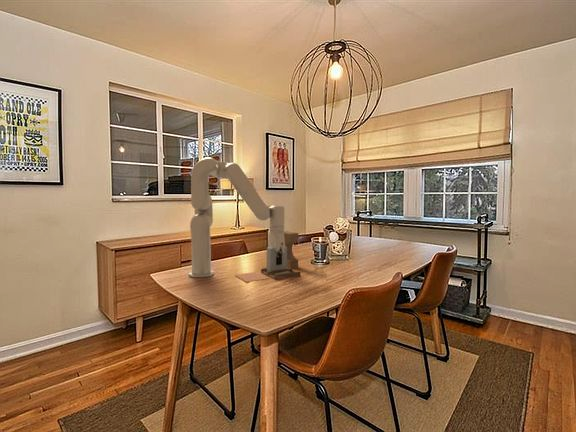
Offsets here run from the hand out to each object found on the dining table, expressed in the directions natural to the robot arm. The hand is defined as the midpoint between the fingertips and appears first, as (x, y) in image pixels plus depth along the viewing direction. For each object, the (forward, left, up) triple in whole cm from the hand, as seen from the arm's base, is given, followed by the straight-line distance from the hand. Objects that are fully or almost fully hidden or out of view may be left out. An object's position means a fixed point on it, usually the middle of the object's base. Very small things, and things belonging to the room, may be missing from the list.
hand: (276, 263), depth 168 cm
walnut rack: (+4, 0, -5) cm, 7 cm away
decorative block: (-9, +13, -6) cm, 17 cm away
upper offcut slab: (+7, 0, -5) cm, 9 cm away
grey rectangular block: (0, 0, -5) cm, 5 cm away
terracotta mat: (+1, -15, -5) cm, 16 cm away
